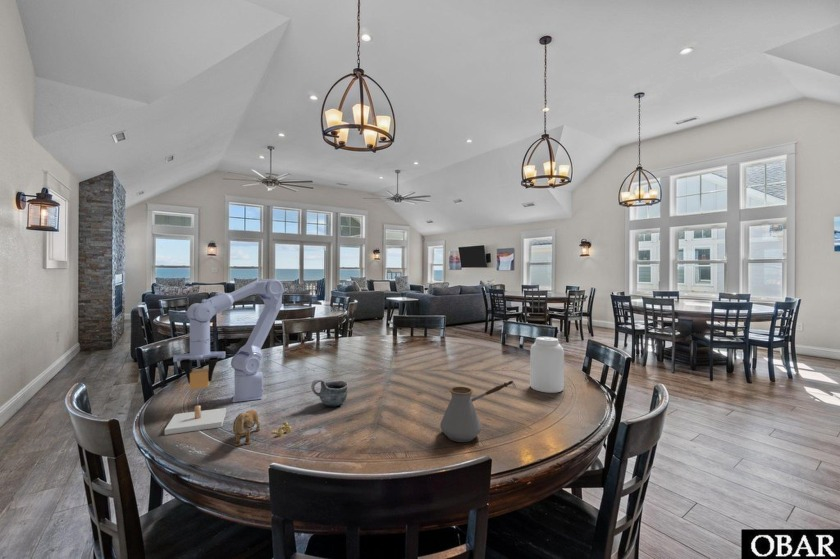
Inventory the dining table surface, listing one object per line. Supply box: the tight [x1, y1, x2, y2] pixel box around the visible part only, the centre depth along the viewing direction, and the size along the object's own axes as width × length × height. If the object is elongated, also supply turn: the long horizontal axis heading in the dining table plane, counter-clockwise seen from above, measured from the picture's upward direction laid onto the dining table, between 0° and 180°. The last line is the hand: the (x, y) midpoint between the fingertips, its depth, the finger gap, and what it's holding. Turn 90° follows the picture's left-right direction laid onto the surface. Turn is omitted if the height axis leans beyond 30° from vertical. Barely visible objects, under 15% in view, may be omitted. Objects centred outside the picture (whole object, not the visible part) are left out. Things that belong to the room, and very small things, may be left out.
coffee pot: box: [439, 380, 517, 443], centre depth 103 cm, size 21×12×15 cm, turn 97°
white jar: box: [529, 336, 565, 394], centre depth 145 cm, size 12×12×20 cm
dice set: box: [271, 422, 292, 437], centre depth 104 cm, size 5×5×2 cm
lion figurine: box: [232, 409, 261, 447], centre depth 100 cm, size 15×5×9 cm, turn 15°
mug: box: [310, 377, 349, 407], centre depth 125 cm, size 10×12×10 cm
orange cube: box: [189, 367, 211, 390], centre depth 120 cm, size 5×5×5 cm
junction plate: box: [164, 404, 227, 436], centre depth 110 cm, size 14×12×5 cm
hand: (200, 381), depth 120 cm, fingers closed on orange cube, 5 cm apart
